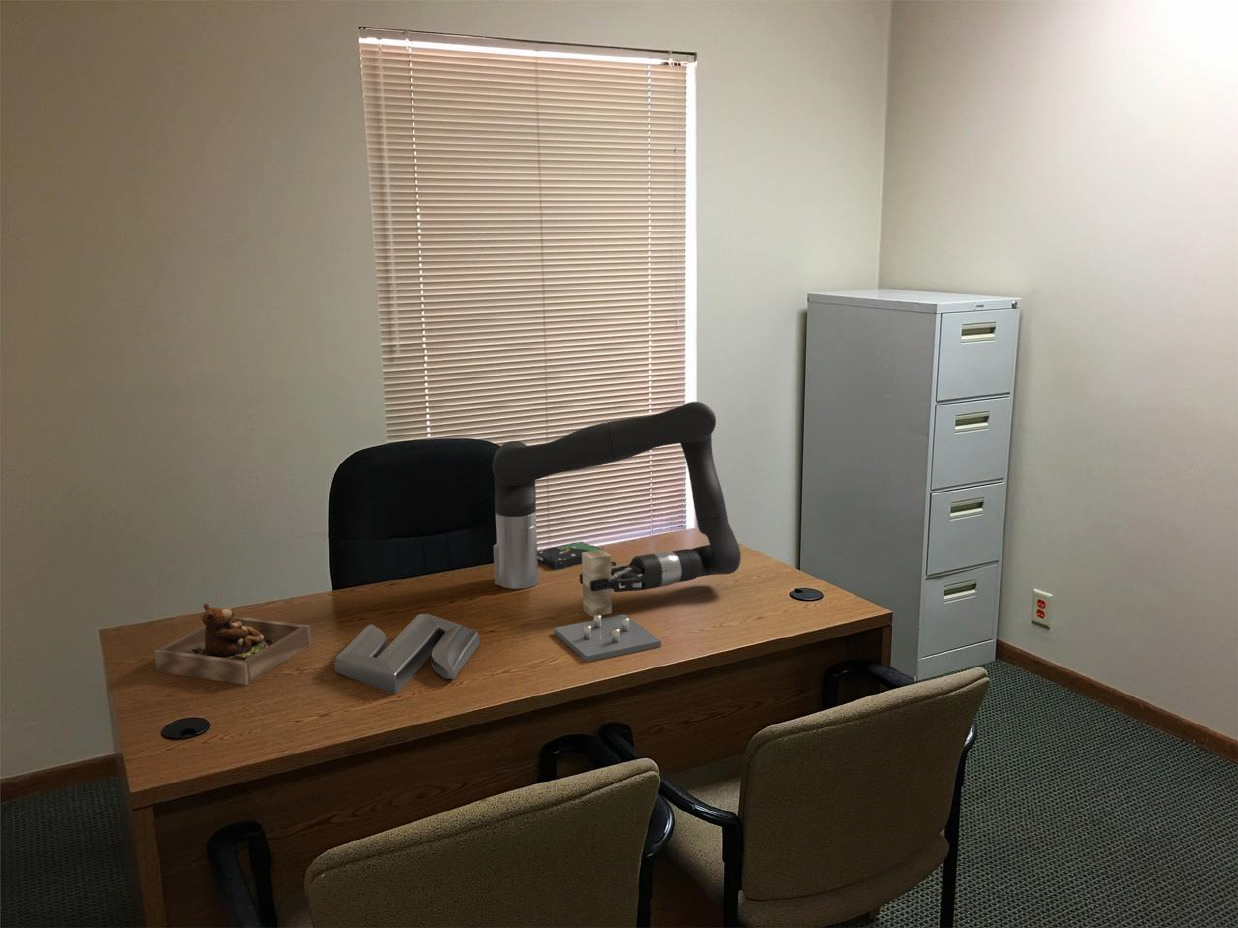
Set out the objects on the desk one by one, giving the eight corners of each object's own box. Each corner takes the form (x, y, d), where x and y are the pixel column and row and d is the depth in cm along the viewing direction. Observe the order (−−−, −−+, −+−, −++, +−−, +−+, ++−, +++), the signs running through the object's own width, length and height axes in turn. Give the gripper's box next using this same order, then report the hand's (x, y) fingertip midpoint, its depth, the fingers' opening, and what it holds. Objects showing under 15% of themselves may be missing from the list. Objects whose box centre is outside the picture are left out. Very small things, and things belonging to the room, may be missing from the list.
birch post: (592, 617, 211) (591, 558, 208) (583, 610, 215) (581, 552, 212) (611, 613, 213) (610, 555, 210) (602, 606, 217) (601, 549, 214)
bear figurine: (278, 661, 191) (273, 601, 189) (195, 680, 184) (188, 617, 181) (263, 638, 203) (257, 581, 200) (184, 654, 195) (177, 595, 192)
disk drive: (556, 572, 241) (605, 559, 250) (556, 562, 241) (604, 548, 250) (533, 562, 249) (581, 550, 258) (532, 552, 249) (580, 539, 258)
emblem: (499, 649, 183) (344, 677, 172) (500, 676, 184) (346, 705, 173) (461, 600, 208) (323, 621, 197) (462, 624, 209) (325, 647, 198)
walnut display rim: (156, 671, 187) (154, 651, 186) (227, 632, 205) (225, 614, 204) (246, 685, 181) (244, 664, 180) (311, 644, 199) (309, 625, 198)
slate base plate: (586, 662, 189) (586, 644, 188) (554, 633, 203) (553, 616, 202) (661, 646, 195) (660, 628, 195) (624, 619, 209) (624, 602, 209)
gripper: (640, 545, 224) (571, 556, 217) (671, 563, 212) (599, 575, 204) (641, 577, 226) (572, 589, 218) (671, 596, 213) (599, 610, 206)
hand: (585, 582), depth 211 cm, fingers closed on birch post, 4 cm apart
